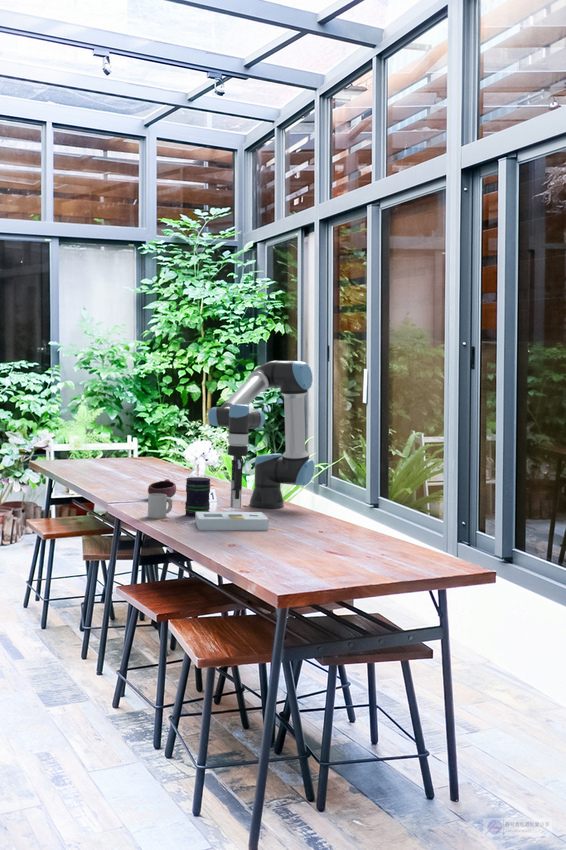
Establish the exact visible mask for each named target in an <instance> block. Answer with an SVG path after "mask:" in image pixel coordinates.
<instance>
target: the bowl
mask: <svg viewBox="0 0 566 850" xmlns="http://www.w3.org/2000/svg"><path fill="white" fill-rule="evenodd" d="M147 493H148V495H149V494H156V493H157V494H166V495H167V497H169V498H170V499H172V498H173V497H174V496H175V495H176V493H177V485H176V483H174V481H171V480H170V479H167V478H166V479H164V480H160V481H155V482H152V483H151V484H149V485H148V488H147Z"/></svg>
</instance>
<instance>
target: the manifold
mask: <svg viewBox="0 0 566 850" xmlns="http://www.w3.org/2000/svg"><path fill="white" fill-rule="evenodd" d="M194 522H195V525H196V527H197V529H198V530H199V531H269V522H270V519H269V518H268V517H267V516H266V515H265V513H264V512H262V511H255V512H254V511H209V512H196V514H195V517H194Z"/></svg>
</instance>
